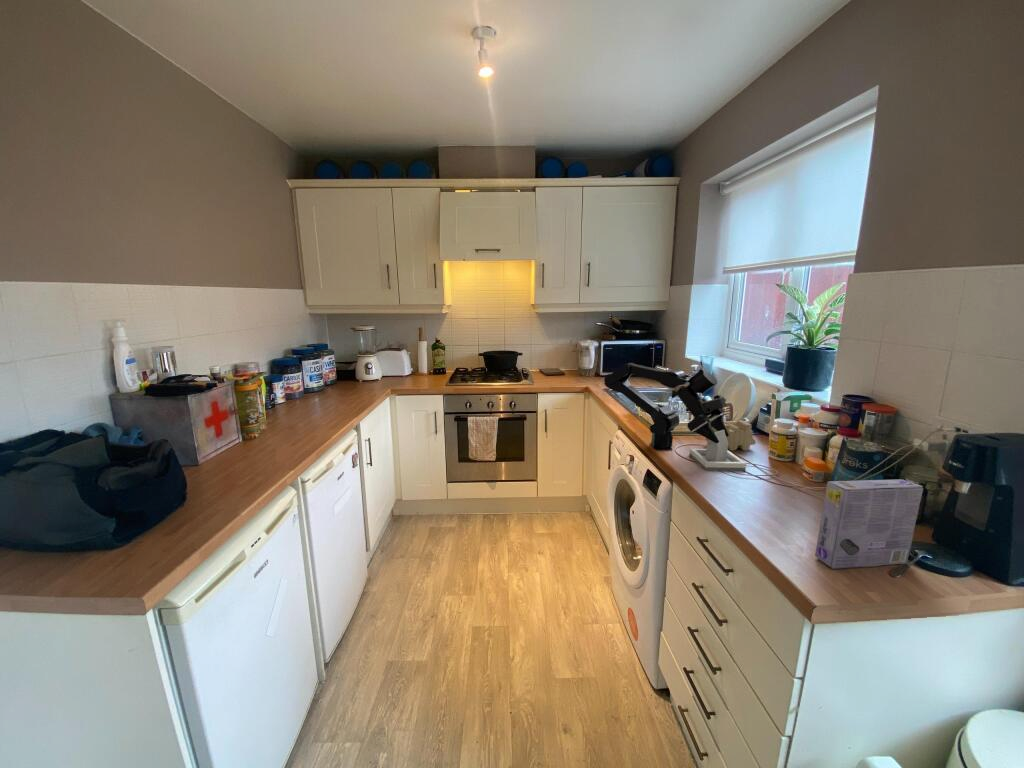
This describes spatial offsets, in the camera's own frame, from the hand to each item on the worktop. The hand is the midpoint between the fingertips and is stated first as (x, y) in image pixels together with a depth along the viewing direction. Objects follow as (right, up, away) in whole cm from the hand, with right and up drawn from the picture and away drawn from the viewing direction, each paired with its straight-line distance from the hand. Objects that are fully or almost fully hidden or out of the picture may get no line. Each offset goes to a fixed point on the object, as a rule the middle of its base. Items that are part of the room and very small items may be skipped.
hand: (723, 439), depth 136 cm
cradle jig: (-1, -8, +3) cm, 9 cm away
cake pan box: (+5, -19, -49) cm, 53 cm away
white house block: (-1, -7, +3) cm, 8 cm away
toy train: (+10, -6, +16) cm, 20 cm away
